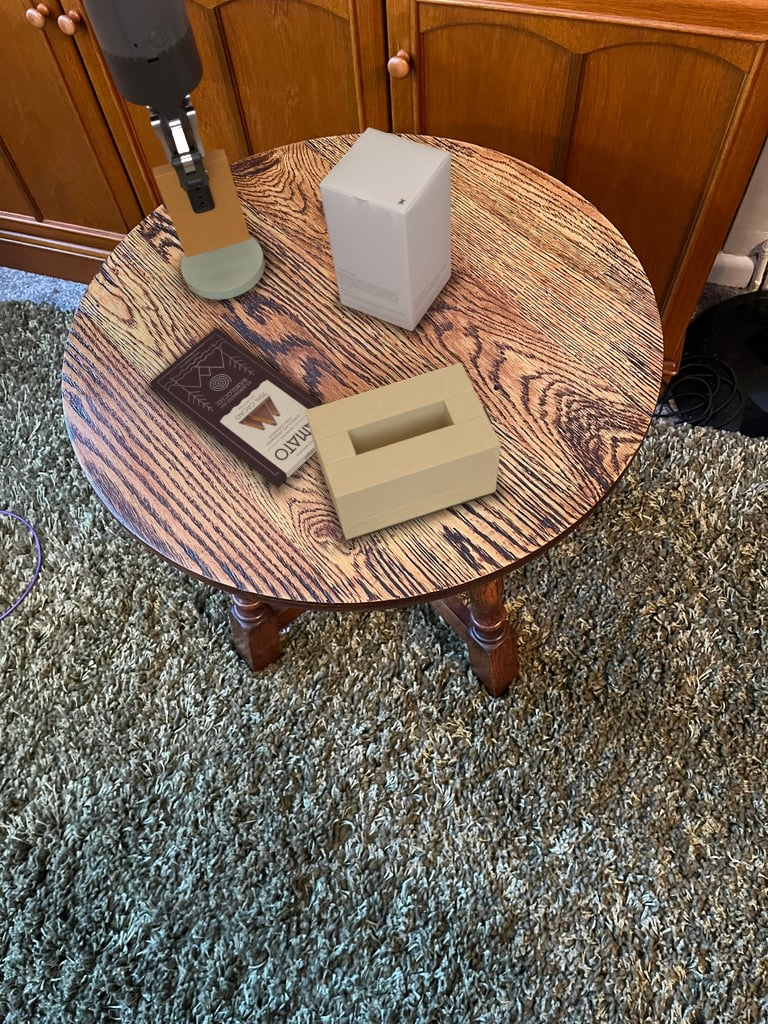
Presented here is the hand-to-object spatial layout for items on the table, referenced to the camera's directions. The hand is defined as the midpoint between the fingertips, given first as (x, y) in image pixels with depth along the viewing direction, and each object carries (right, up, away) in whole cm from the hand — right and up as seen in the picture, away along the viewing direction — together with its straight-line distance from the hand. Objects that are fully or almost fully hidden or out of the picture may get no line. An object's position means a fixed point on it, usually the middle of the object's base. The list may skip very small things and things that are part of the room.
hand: (202, 203), depth 77 cm
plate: (+1, -4, +8) cm, 9 cm away
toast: (0, -3, +5) cm, 5 cm away
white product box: (+19, -7, +5) cm, 21 cm away
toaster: (+20, -28, -6) cm, 35 cm away
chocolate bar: (+5, -21, -1) cm, 21 cm away
